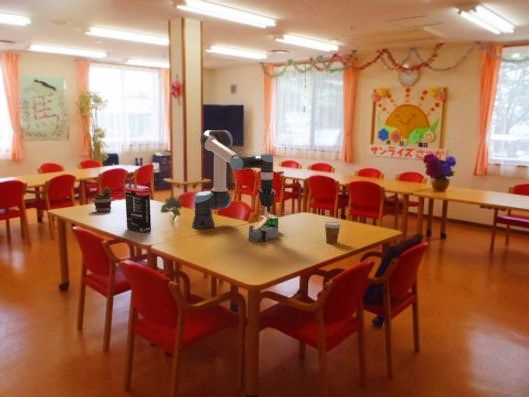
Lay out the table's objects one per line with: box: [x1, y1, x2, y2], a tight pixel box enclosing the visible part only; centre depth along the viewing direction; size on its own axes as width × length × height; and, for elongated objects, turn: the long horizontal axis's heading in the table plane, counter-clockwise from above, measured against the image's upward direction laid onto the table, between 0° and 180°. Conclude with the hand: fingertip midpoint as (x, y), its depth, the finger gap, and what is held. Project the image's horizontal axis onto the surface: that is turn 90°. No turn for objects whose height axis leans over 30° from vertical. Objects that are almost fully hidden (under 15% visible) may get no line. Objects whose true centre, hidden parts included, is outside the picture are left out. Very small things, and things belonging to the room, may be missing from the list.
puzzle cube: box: [258, 214, 279, 229], centre depth 296 cm, size 10×10×10 cm
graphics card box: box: [124, 187, 152, 233], centre depth 293 cm, size 17×7×27 cm, turn 56°
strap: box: [251, 213, 273, 232], centre depth 277 cm, size 5×17×2 cm, turn 142°
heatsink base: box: [248, 222, 279, 244], centre depth 279 cm, size 12×19×9 cm, turn 142°
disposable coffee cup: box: [324, 221, 342, 245], centre depth 272 cm, size 10×10×12 cm
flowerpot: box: [92, 186, 114, 213], centre depth 351 cm, size 14×15×20 cm
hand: (266, 216), depth 280 cm, fingers closed
